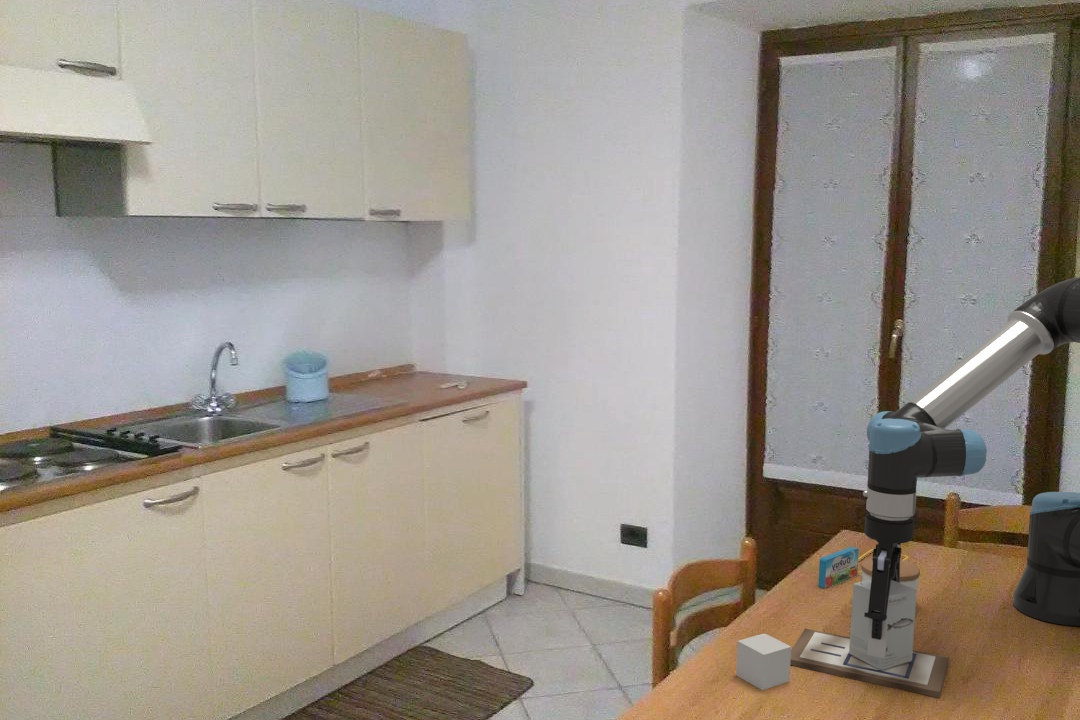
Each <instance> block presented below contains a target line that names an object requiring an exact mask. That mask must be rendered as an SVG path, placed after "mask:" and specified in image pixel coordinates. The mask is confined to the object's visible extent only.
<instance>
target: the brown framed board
mask: <svg viewBox="0 0 1080 720" xmlns="http://www.w3.org/2000/svg"><path fill="white" fill-rule="evenodd" d="M849 645H850V636H845V635H840V634H837V633H831V632H830V633H829V632H824V631H821V630H815V629H811V628H807V627H805V628H804V629H803V631H802V632H801V634H800V636H799V637H798V639H797V640H796V642H795V643H794V645H793V647H791V661H790V666H793V667H798V668H801V669H802V668H803V669H807V670H811V671H816V672H821V673H825V674H829V675H834V676H839V677H842V678H848V679H852V680H855V681H860V682H865V683H869V684H874V685H879V686H884V687H888V688H893V689H897V690H902V691H904V692H905V691H906V692H910V693H914V694H919V695H923V696H928V697H932V698H937V699H940V697H941V693H942V690H943V686H944V682H945V678H946V675H947V671H948V666H949V661H950V657H947V656H944V655H938V654H933V653H929V652H923V651H919V650H915V649H913V653H912V661H911V662H907V663H903V664H899V665H896V666H892V667H889V668H886V669H883V670H879V669H877V668H875V667H873V666H872V665H870V664H868V663H866V662H864V661H862V660H860V659H858V658H856V657H855V656H853V655H851V654H849Z"/></svg>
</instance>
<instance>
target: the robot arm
mask: <svg viewBox="0 0 1080 720" xmlns="http://www.w3.org/2000/svg"><path fill="white" fill-rule="evenodd" d="M1070 343H1079V344H1080V276H1079V277H1073V278H1068V279H1066V280H1063V281H1062V280H1061V281H1059V282H1057V283H1055V284H1053V285H1050V286H1049V287H1046V288H1045V289H1043V290H1041V291H1039V292H1038V293H1037V294H1035V295H1033V296H1032V297H1030V298H1028V299H1027V300H1026V301H1025V302H1023V303H1022V304H1021V305H1019V306H1018V307H1017V308H1016V309H1014V310H1013V311H1012V312H1011V313H1010V314H1009V315H1008V317H1007V323H1006V324H1004V326H1002V327H1001V328H999V330H997V331H996V332H994V333H993V334H992V335H991V336H989V337H988V338H987V339H986V340H985V341H984V342H982V343H980V345H979V346H977V347H976V348H974V349H973V350H972V351H971V352H970V353H968V354H967V355H966V356H965V357H963V358H962V359H961V360H960V361H958V362H957V363H955V364H954V365H953V366H952V367H951V368H950V369H948V370H947V371H946V372H945V373H943V374H942V375H941V376H939V377H938V378H937V379H935V380H934V381H933V382H932V383H931V384H930V385H928V386H927V387H926V388H925V389H923V390H922V391H920V392H919V393H918V394H917V395H916V396H914V397H913V398H912V399H911V400H909V401H908V402H907V403H906V404H904V405H903V406H902V407H901V408H899V409H898V410H896V411H891V410H890V411H889V410H886V411H885V410H884V411H881V412H878V413H876V414H875V415H873V416H872V417H871V419H870V420H869V422H868V425H867V427H866V437H867V440H868V464H867V466H868V467H867V487H866V490H864V491H863V492H862V495H863V496H864V497H866V498H867V499H866V505H865V509H866V510H867V512H866V513H865V514H864V516H865V517H864V530H863V531H864V535H865V536H866V537H867V538H869V539H870V540H873V541H876V542H877V543H876V544H875V548H873V549H874V550H873V553H872V557H871V558H872V561H873V568H872V579H871V589H870V598H869V608H868V612H867V613H865V614H864V616H865V617H868V618H869V630H868V647H867V655H870V656H875V657H880V658H885V652H886V637H887V621H888V618H887V616H886V615H887V607H888V598H889V592H890V584H891V580H893V581H896V582H899V583H900V560H901V557H902V556H901V554H902V547H901V545H902V544H906V543H910V542H911V541H912V540H913V538H914V528H915V527H914V526H915V524H914V523H915V518H913V516H915V514H916V502H917V486H918V485H917V483H918V478H919V479H921V478H938V477H939V478H941V477H962V476H968V475H975V474H978V473H979V472H980V471H981V470H982V469H983V468H984V466H985V465H986V461H987V453H988V451H987V450H988V449H987V445H986V443H985V440H984V438H983V436H981V435H980V434H979V433H978V432H977V431H976V430H972V429H962V428H956V429H947V428H948V427H949V426H950V425H952V424H953V423H954V422H955V421H957V420H958V419H960V418H961V417H962V416H963V415H964V414H966V413H967V412H968V411H969V410H971V408H973V407H974V406H975V405H977V404H978V403H979V402H980V401H982V400H983V399H984V398H985V397H987V396H988V395H989V394H990V393H992V392H993V391H994V390H995V389H997V388H998V387H999V386H1001V385H1002V384H1003V383H1004V382H1006V381H1007V380H1008V379H1010V377H1012V376H1013V375H1014V374H1016V373H1017V372H1018V371H1019V370H1020V369H1022V368H1023V367H1025V366H1026V365H1027V364H1028V363H1029V362H1030V361H1032V360H1033V359H1034V358H1036V357H1037V356H1038V355H1048V354H1050V353H1051V352H1052V351H1054V350H1055V349H1056V348H1058V347H1060V346H1063V345H1066V344H1070ZM1028 524H1029V525H1028V538H1027V539H1028V540H1027V552H1026V553H1027V554H1026V564H1025V568H1024V570H1023V572H1022V574H1021V577H1020V579H1019V581H1018V583H1017V585H1016V587H1015V588H1014V592H1013V600H1012V604H1013V606H1014V607H1015V609H1017V610H1018V611H1019V612H1021V613H1023V614H1024V615H1026V616H1029V617H1030V618H1034V619H1037V620H1040V621H1043V622H1048V623H1050V624H1051V623H1052V624H1056V625H1063V626H1064V625H1065V626H1073V627H1076V626H1077V627H1080V492H1073V491H1047V492H1040V493H1038V494H1037V495H1035V496H1034V497H1033V499H1032V502H1031V507H1030V512H1029V523H1028ZM877 611H879V612H877Z"/></svg>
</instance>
